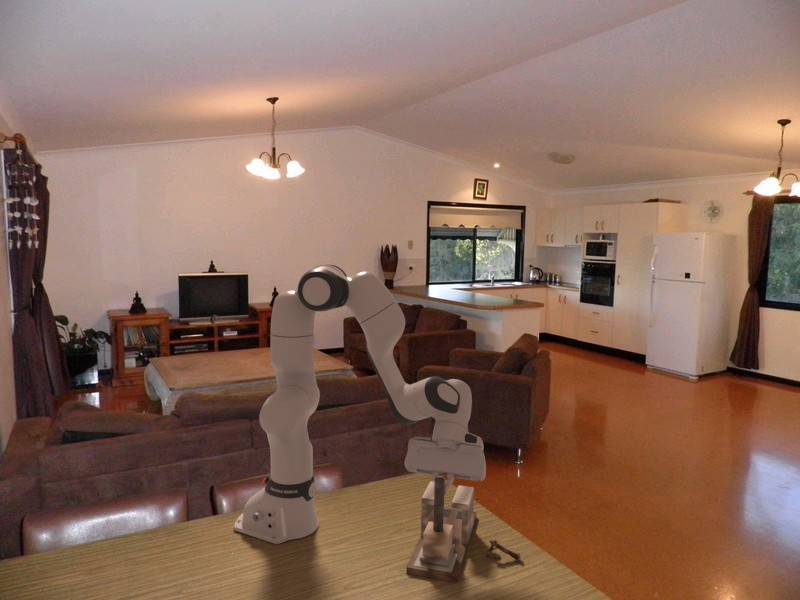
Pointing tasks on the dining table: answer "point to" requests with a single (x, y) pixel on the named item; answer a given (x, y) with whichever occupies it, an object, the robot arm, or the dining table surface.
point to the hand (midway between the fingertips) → (440, 492)
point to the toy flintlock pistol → (503, 549)
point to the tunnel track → (461, 536)
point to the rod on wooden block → (438, 532)
